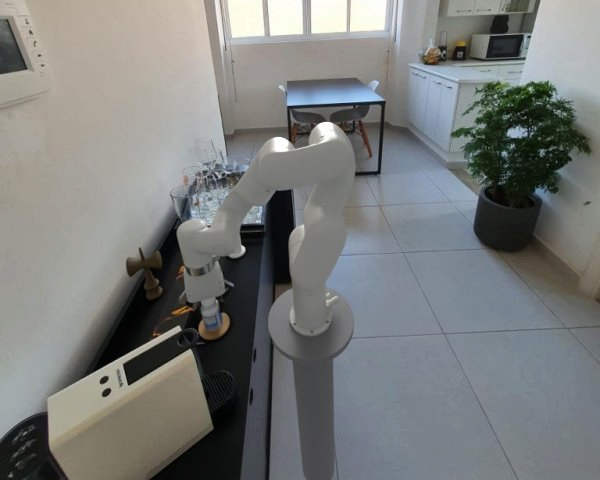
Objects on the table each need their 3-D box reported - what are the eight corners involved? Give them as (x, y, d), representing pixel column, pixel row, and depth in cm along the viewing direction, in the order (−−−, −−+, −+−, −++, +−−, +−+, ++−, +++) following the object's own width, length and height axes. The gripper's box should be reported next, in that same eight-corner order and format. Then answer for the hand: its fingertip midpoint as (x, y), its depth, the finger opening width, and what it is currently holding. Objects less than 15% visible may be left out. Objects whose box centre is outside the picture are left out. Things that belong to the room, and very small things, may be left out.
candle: (228, 247, 124) (218, 193, 114) (245, 245, 125) (237, 191, 114) (226, 259, 118) (215, 203, 107) (245, 257, 118) (236, 201, 108)
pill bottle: (214, 313, 95) (208, 289, 91) (227, 320, 92) (222, 296, 88) (200, 327, 91) (194, 303, 87) (213, 335, 88) (208, 310, 84)
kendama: (140, 292, 105) (123, 245, 97) (170, 284, 108) (156, 237, 100) (138, 306, 100) (120, 257, 92) (169, 297, 102) (155, 249, 94)
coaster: (223, 307, 97) (223, 306, 97) (234, 329, 90) (234, 327, 90) (195, 322, 93) (194, 320, 93) (203, 346, 86) (203, 344, 86)
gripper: (231, 247, 88) (239, 294, 95) (166, 262, 83) (180, 310, 91) (234, 265, 81) (242, 314, 88) (164, 282, 77) (179, 332, 84)
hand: (211, 311), depth 89 cm, fingers closed on pill bottle, 5 cm apart
